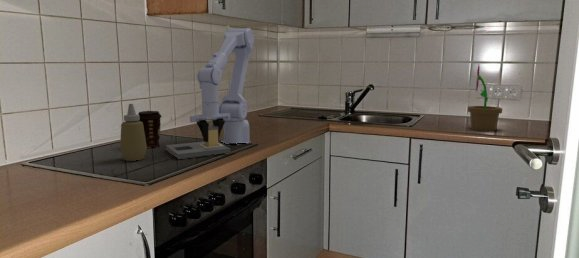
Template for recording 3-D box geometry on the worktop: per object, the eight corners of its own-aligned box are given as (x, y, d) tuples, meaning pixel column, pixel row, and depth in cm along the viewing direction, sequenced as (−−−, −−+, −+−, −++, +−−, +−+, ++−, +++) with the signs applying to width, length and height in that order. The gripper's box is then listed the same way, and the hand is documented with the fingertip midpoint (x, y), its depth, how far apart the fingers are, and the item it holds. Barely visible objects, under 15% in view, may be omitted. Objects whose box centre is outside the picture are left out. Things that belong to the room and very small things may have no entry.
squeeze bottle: (150, 156, 139) (147, 102, 136) (143, 162, 131) (139, 105, 128) (126, 156, 139) (122, 102, 136) (116, 162, 131) (113, 105, 128)
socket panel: (214, 145, 156) (214, 139, 156) (230, 154, 143) (230, 147, 142) (165, 150, 147) (165, 144, 147) (178, 160, 134) (177, 153, 133)
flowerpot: (467, 126, 203) (472, 63, 198) (500, 128, 197) (505, 64, 192) (465, 130, 190) (470, 64, 185) (500, 133, 184) (506, 64, 179)
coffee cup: (154, 143, 160) (153, 109, 158) (167, 146, 155) (166, 111, 153) (134, 147, 154) (132, 111, 152) (146, 150, 149) (144, 113, 146)
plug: (213, 147, 150) (213, 125, 149) (218, 149, 147) (218, 126, 146) (204, 149, 148) (203, 126, 146) (208, 150, 145) (208, 127, 143)
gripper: (223, 100, 152) (224, 136, 154) (185, 102, 144) (187, 141, 146) (233, 101, 147) (233, 139, 149) (194, 104, 138) (195, 144, 140)
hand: (211, 140), depth 147 cm, fingers closed on plug, 4 cm apart
